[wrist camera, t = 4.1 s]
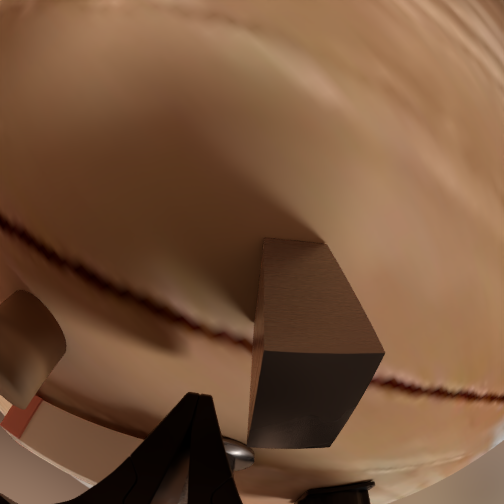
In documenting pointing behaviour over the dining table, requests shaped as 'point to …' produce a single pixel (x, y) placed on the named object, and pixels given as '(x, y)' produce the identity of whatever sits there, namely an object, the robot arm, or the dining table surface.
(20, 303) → the cylinder
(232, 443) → the flanged metal peg
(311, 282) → the block
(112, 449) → the white rectangular bar
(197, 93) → the dining table surface
